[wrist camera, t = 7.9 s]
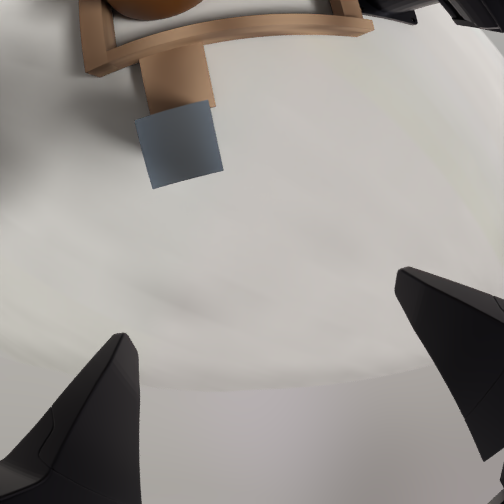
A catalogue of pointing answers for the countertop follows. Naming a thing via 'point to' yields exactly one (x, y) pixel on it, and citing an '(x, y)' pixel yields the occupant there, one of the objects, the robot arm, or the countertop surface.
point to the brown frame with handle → (190, 77)
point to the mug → (152, 8)
